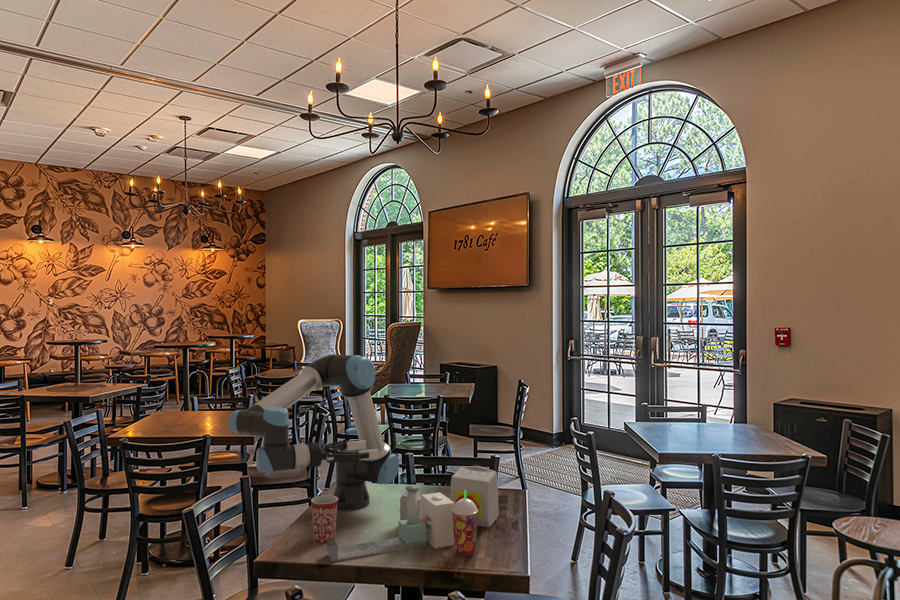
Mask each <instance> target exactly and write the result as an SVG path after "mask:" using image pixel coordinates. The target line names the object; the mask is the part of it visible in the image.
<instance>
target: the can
mask: <svg viewBox="0 0 900 600" xmlns="http://www.w3.org/2000/svg"><path fill="white" fill-rule="evenodd" d="M407 496H408V491H405V492H403V493H402V494H401V496H400V501H399V502H400V505H399V508H400V509H399V513H400V514H399V521H401V520H407ZM417 518H419V519H420V520H421V496H420V493H419V492H418V491H417Z"/></svg>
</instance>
